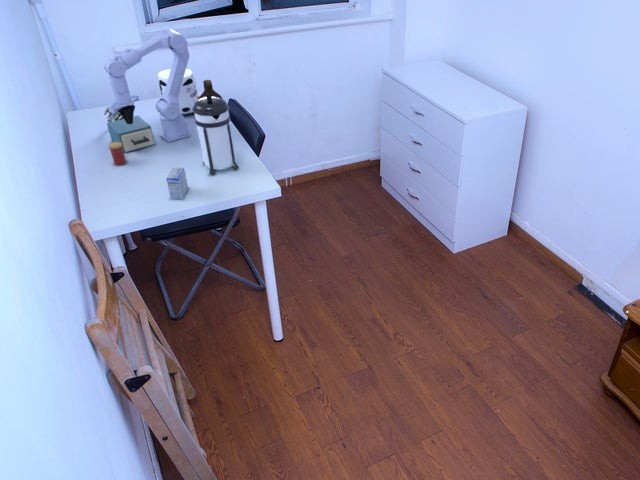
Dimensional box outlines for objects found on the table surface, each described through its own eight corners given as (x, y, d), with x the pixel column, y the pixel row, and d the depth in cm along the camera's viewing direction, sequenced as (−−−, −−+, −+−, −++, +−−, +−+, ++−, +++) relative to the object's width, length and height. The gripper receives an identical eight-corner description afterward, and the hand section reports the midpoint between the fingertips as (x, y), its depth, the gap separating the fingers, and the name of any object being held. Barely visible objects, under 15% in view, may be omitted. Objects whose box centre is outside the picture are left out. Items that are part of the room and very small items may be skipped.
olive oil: (204, 133, 241) (194, 77, 227) (229, 131, 243) (221, 76, 229) (203, 143, 233) (192, 86, 218) (229, 142, 235) (220, 85, 220)
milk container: (209, 111, 260) (202, 74, 250) (175, 121, 250) (166, 82, 239) (190, 101, 270) (183, 64, 259) (156, 110, 259) (147, 72, 249)
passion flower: (115, 138, 246) (102, 113, 244) (139, 128, 250) (126, 104, 248) (114, 133, 236) (99, 107, 234) (139, 123, 240) (125, 97, 238)
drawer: (158, 147, 227) (154, 132, 223) (129, 155, 220) (125, 140, 216) (142, 134, 237) (139, 119, 233) (114, 141, 230) (110, 126, 226)
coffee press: (249, 161, 222) (239, 88, 204) (226, 179, 209) (213, 103, 192) (212, 153, 226) (199, 81, 209) (188, 170, 214) (172, 96, 196)
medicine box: (176, 188, 203) (171, 167, 197) (188, 188, 203) (184, 167, 198) (170, 199, 196) (165, 178, 191) (183, 199, 197) (178, 178, 191)
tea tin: (116, 160, 218) (111, 141, 214) (128, 160, 219) (123, 141, 214) (112, 165, 215) (106, 147, 210) (124, 165, 215) (119, 147, 210)
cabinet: (155, 144, 231) (150, 125, 226) (123, 153, 224) (118, 134, 219) (142, 133, 239) (138, 115, 234) (112, 141, 231) (106, 123, 227)
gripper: (116, 98, 208) (125, 132, 216) (142, 86, 219) (150, 118, 227) (100, 95, 210) (110, 129, 217) (127, 83, 221) (135, 115, 229)
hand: (129, 123), depth 222 cm, fingers closed
